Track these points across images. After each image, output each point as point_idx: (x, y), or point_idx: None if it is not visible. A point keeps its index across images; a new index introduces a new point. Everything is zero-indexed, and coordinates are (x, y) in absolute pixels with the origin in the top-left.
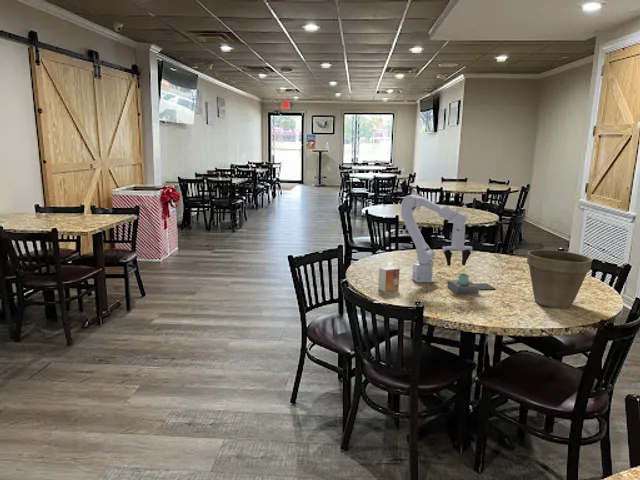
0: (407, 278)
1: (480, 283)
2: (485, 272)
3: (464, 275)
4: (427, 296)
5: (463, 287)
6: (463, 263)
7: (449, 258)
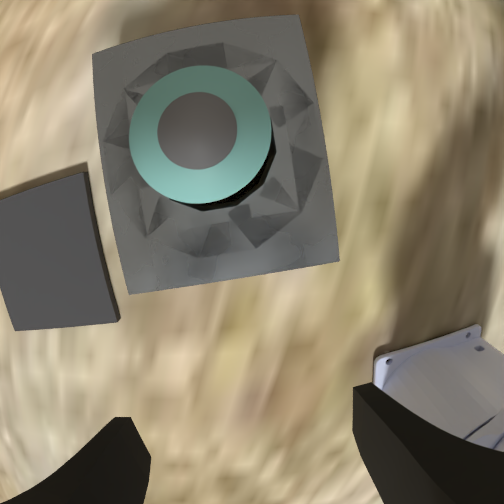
0: None
1: (45, 327)
2: None
3: (197, 95)
4: (477, 39)
5: (246, 21)
6: (128, 447)
7: (445, 445)
